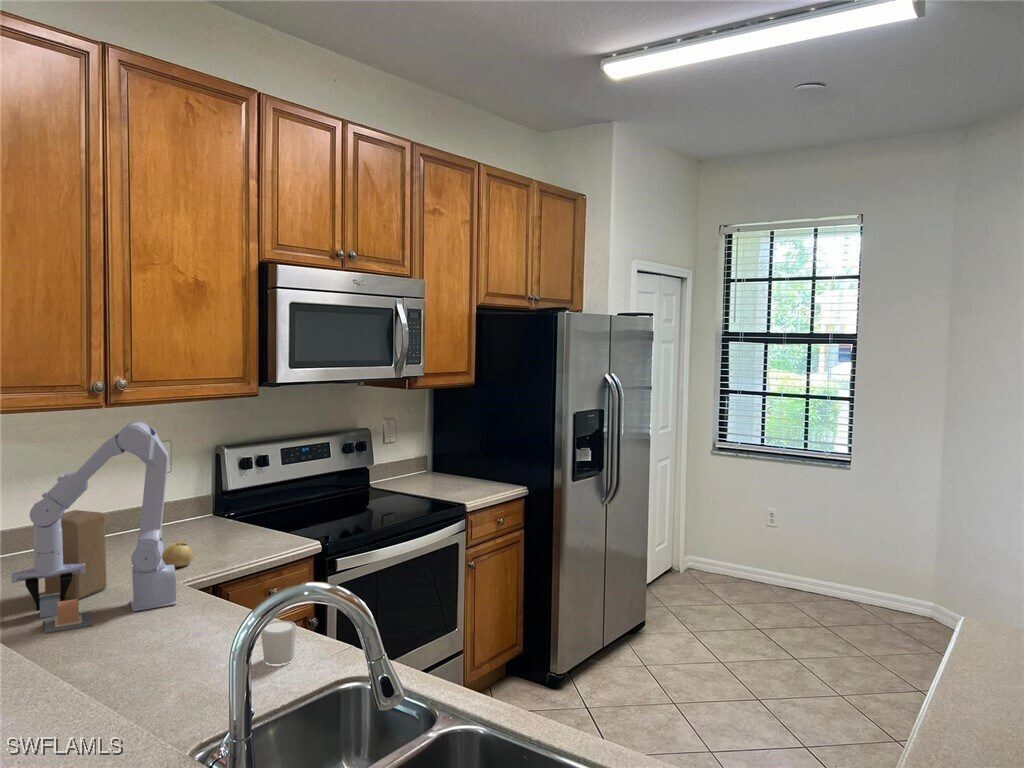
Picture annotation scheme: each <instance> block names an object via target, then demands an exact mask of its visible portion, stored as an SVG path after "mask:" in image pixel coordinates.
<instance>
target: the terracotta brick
mask: <svg viewBox="0 0 1024 768" xmlns="http://www.w3.org/2000/svg"><path fill="white" fill-rule="evenodd" d="M79 607H80V606H79V600H78V599H73V600H64V601H60V602H58V615H57V616H58V625H62V624H68V623H74V622H79V613H80V609H79Z"/></svg>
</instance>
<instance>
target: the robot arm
mask: <svg viewBox="0 0 1024 768" xmlns="http://www.w3.org/2000/svg"><path fill="white" fill-rule="evenodd" d="M126 452H127V453H130V454H133V455H134V456H136V457H138V459H140V460H141V462H143V463H144V464H145V474H144V475H145V476H144V485H143V497H142V505H141V506H142V507H141V514H140V516H141V517H140V527H139V533H138V538H137V544H136V548H135V549H134V550H133V552H132V555H131V561H130V562H131V564H132V568H131V571H132V574H131V575H132V598H131V599H130V600H129V602H130V605H131V610H132V611H133V612H137V611H144V610H149V609H157V608H163V607H169V606H174V605H177V584H176V583H177V581H176V580H177V577H176V567H174V565H166V564H165V562H164V561H163V560H162V555H163V553H164V551H165V549H166V545H165V541H164V540H163V517H164V507H165V495H166V486H167V478H168V477H167V476H168V469H169V468H168V467H169V458H170V457H169V453H168V451H167V450H166V447H165V446H164V444H163V443H162V441H161V439H160V437H159V436H158V432H157V430H155V429H154V428H153V427H152V426H150V424H148V423H147V422H145V421H143V420H135V421H134V420H133V421H131V422H129V423H128V424H127V425H126V426H125V427H122V428H121V430H119V431H118V432H117V433H116V434H114V435H113V436H111V437H110V438H109V439H107V440H106V441H104V443H102V444H101V445H100V447H98V449H97V450H96V451H95V452H94V453H93V454H92V455H91V456H90V457H89V458H88V459H87V460H86V461H85V462H84V463H83V465H82V466H81V467H80V468H79V469H77V471H73V472H67V473H65V474H64V475H63V474H61V475H60V476H58V478H56V481H57V482H56V483H55V485H53V486H52V487H51V488H50V490H48V491H44V493H42V494H41V497H42V499H41V500H39V501H37V502H35V503H34V504H33V506H32V507H31V509H30V510H29V519H30V521H31V522H32V523H33V524H32V525H33V526H32V527H33V532H32V536H33V537H32V538H33V564H34V565H33V567H34V568H30V569H24V570H21V571H16V572H15V571H13V572H11V575H10V578H11V579H10V581H11V584H15V583H19V582H24V581H25V582H24V583H25V587H26V589H27V591H28V592H29V594H30V595H31V597H32V599H33V601H34V604H35V609H36V612H40V588H39V586H40V584H39V579H45V578H48V577H55V576H60V588H61V592H60V601H66V599H65V596H66V593H67V590H68V588H69V585H70V583H71V581H72V578H73V577H72V574H77V573H80V574H83V573H85V563H82V564H64V565H63V542H62V528H61V516H62V515H63V514H64V513H65V511H66V510H68V509H69V508H70V507H71V506H72V505H73V504H75V502H76V501H77V500H78V499H79V498H80V497H81V496H82V495H84V493H85V492H86V491H88V489H89V483H88V482H89V479H90V478H92V477H93V476H94V475H95V474H96V473H97V472H98V471H99V470H100V469H101V468H102V467H103V466H104V465H105V464H106V463H107V462H108V461H110V459H111V458H112V457H116V456H120V455H123V454H124V453H126Z"/></svg>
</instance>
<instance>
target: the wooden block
mask: <svg viewBox="0 0 1024 768" xmlns="http://www.w3.org/2000/svg"><path fill="white" fill-rule="evenodd" d="M61 528H62V542H63V565H64V564H82V563H85V573H83V574H80V573H77V574H72V577H73V578H72V581H71V583H70V585H69V588H68V590H67V593H66V596H65V601H67V600H73V599H78V601H79V600H82V599H84V598H86V597H89V596H92V595H94V594H96V593H98V592H101V591H103V590H105V589H106V588H107V585H108V584H107V582H108V581H107V554H106V553H107V552H106V551H107V550H106V548H107V547H106V516H105V514H104V513H103V512H100V511H90V510H89V511H87V510H79V509H78V510H77V509H76V510H75V509H74V510H71V511H70V510H69V511H66V512H64V514H63V515H62V516H61ZM44 590H45V591H44V595H48V594H55V593H60V592H61V588H60V576H55V577H48V578H44Z"/></svg>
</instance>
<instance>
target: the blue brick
mask: <svg viewBox="0 0 1024 768" xmlns="http://www.w3.org/2000/svg"><path fill="white" fill-rule="evenodd" d="M39 598H40V611H39V618H40V619H42V618H44V619H45V618H51V617H57V616H58V602H60V593H55V594H48V595H45V594H43V595H42V594H41V595H39Z"/></svg>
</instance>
